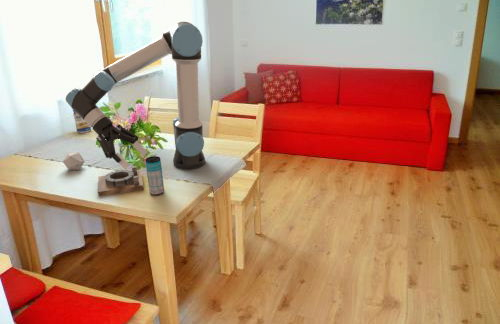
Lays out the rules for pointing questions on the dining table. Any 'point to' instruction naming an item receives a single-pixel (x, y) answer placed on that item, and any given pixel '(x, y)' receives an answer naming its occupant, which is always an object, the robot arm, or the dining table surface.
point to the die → (73, 161)
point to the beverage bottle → (81, 124)
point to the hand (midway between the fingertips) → (136, 160)
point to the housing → (120, 182)
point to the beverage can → (154, 175)
